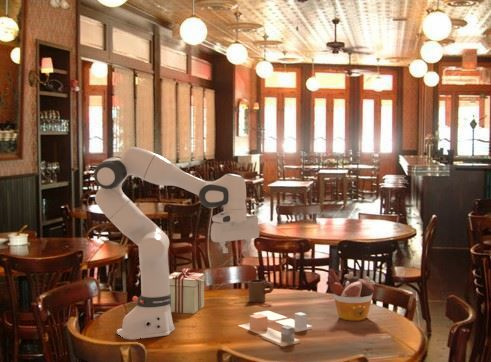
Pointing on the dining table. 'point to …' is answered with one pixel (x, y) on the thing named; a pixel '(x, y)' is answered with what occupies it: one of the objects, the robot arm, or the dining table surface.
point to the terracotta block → (258, 322)
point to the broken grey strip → (289, 320)
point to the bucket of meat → (352, 296)
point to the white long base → (276, 335)
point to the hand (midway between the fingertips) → (235, 251)
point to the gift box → (186, 291)
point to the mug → (258, 290)
